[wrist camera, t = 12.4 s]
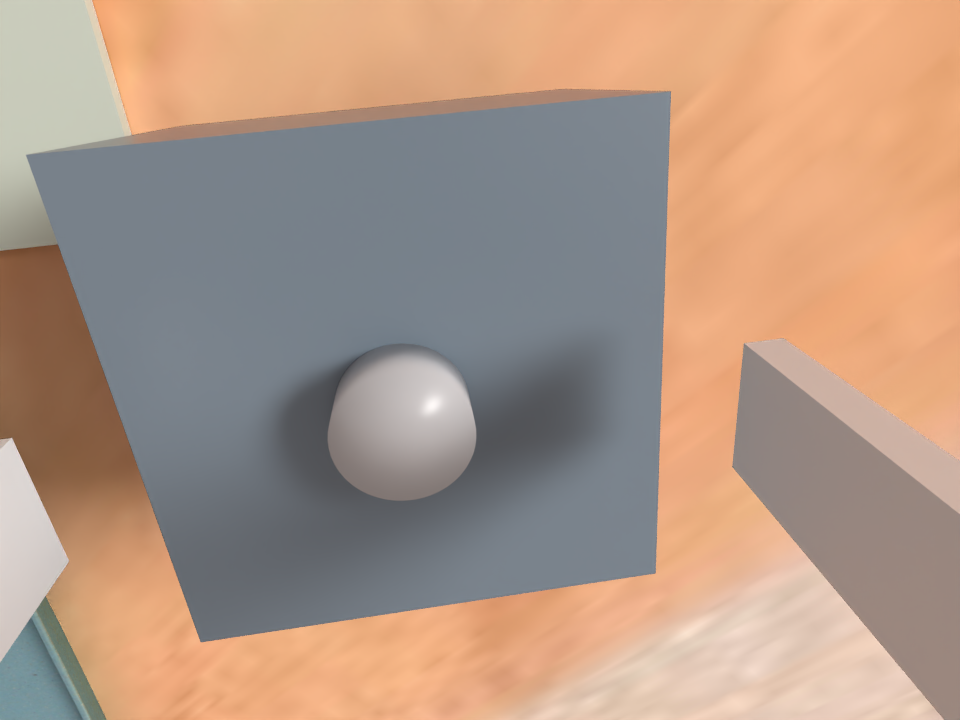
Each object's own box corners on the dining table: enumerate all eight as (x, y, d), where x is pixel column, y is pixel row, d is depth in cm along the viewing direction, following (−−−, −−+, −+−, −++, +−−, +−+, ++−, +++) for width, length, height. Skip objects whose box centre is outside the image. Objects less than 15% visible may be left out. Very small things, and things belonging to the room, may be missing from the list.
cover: (182, 125, 20) (-25, 164, 10) (562, 88, 21) (704, 92, 11) (267, 455, 25) (182, 692, 15) (573, 415, 25) (677, 615, 16)
